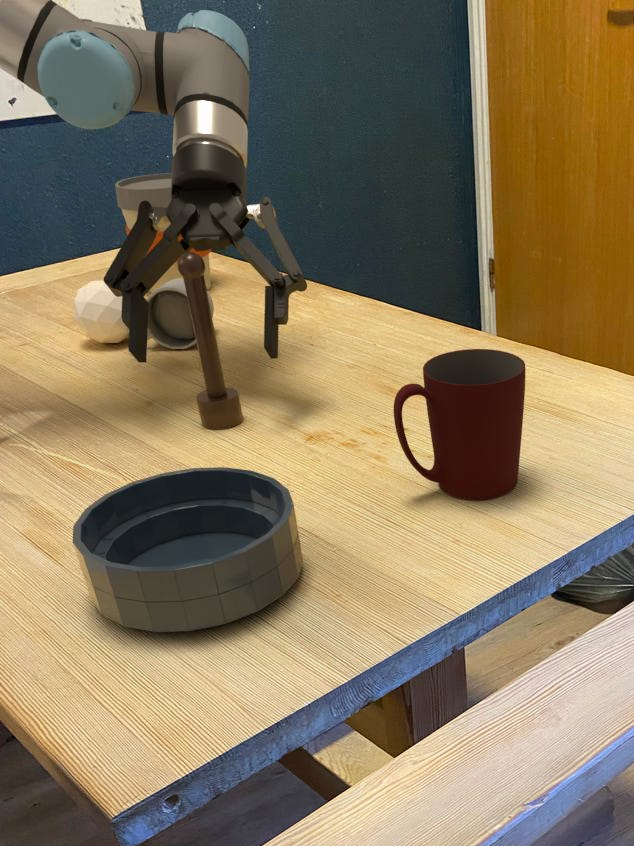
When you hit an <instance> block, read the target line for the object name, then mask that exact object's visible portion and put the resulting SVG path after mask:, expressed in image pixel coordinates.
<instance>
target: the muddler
mask: <svg viewBox="0 0 634 846" xmlns="http://www.w3.org/2000/svg"><path fill="white" fill-rule="evenodd" d="M178 270H179V272H180V274H181V275H182V276H183V280H184V284H185V289H186V294H187V299H188V304H189V308H190V313H191V318H192V323H193V328H194V333H195V337H196V342H197V343H196V346H197V351H198V355H199V356H198V357H199V361H200V365H201V371H202V375H203V380H204V385H205V390H202V391H200V392H199V393H198V394H196V397H195V398H196V404H197V409H198V413H199V418H200V422H201V426H202V427H204V428H206V429H209V430H226V429H230V428H234V427H236V426H238V425H241V423H242V422H243V421H244V415H243V409H242V404H241V399H240V394H239V393H240V392H239V391H238V389H236V388H233V387H228V386H226V382H225V376H224V371H223V368H222V361H221V356H220V352H219V345H218V340H217V336H216V330H215V326H214V325H215V324H214V319H213V318H212V314H211V309H210V304H209V299H208V294H207V291H208V290H207V289H206V284H205V279H204V273H205V263H204V261H203V259H202V258H201V257H200V256H199V255H198V254H196V253H193V252H186V253H184V254H182V255H181V256H180V258H179V260H178Z"/></svg>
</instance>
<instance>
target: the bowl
mask: <svg viewBox="0 0 634 846" xmlns="http://www.w3.org/2000/svg"><path fill="white" fill-rule="evenodd" d="M291 495H292V494H291V493H290V490H289V489H288V488H287V487H286V486H285V485H283V484H282V483H281V482H280V481H278V480H277V479H276V478H274V477H272V476H268V475H266V474H263V473H261V472H260V473H259V472H257V471H254V470H249V469H243V468H234V467H224V466H219V467H216V466H215V467H192V468H187V469H180V470H175V471H168V472H167V471H166V472H162V473H158V474H155V475H151V476H148V477H145V478H142V479H138V480H134V481H132V482H129V483H127V484H125V485H122V486H120V487H118V488H115V489H114V490H111V491H110V492H108V493H106V494H104V495H102V496H101V497H99V498H98V499H97V500H96V501H94V502H93V503H92V504H90V505H89V506H87V507H86V508H84V510H83V511H82V513H81V514H80V516H79V517H78V518H77V520H76V521H75V522H74V524H73V527H72V545H73V548H74V551H75V554H76V557H77V560H78V563H79V566H80V570H81V573H82V576H83V579H84V581H85V585H86V587H87V588H86V589H87V590H88V593H89V596H90V600H91V602H92V603H93V605H94V606H95V607H96V608H97V610H98V611H99V613H100V614H101V615H102V616H103V617H104V618H107V619H109V620H110V621H113V622H115V623H117V624H118V625H121V626H122V627H125V628H130V629H134V630H135V629H136V630H142V631H146V632H154V633H171V632H173V633H174V632H176V633H177V632H192V631H199V630H200V631H201V630H205V629H210V628H215V627H219V626H222V625H223V626H224V625H226V624H229V623H232V622H236V621H238V620H240V619H243V618H245V617H248V616H249V615H252V614H255V613H257V612H259V611H261V610H263V609H264V608H266V607H267V606H269V605H270V604H272V603H273V602H275V601H277V600H278V599H280V598H281V597H283V596H284V595H285V594H286V593H287V592H288V590H289V589H291V587H292V586H293V585H294V584H295V582H297V580H298V579H299V575H300V573H301V568H302V565H303V562H304V559H303V552H302V546H301V541H300V534H299V528H298V521H297V516H296V509H295V504H294V501H293V498H292V496H291Z"/></svg>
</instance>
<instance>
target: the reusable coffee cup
mask: <svg viewBox="0 0 634 846" xmlns="http://www.w3.org/2000/svg"><path fill="white" fill-rule="evenodd" d="M171 180H172V172H167V173H166V172H165V173H154V174H153V173H151V174H144V175H137V176H132V177H128V178H124V179H120V180H118V181H116V182H115V183H114V186H115V187H114V188H115V194H116V202H117V207H118V208H119V209H121V212H122V215H123V218H124V220H125V223H126V225H124V229H125V233H126V234H127V236H128V234H129V233H130V231H131V229H132V227H133V226H134V224H135V222H136V220H137V215H138V209H139V204H140V203H141V202H142V201H148V202H150V204H151V206H152V207H164V208H167V207H168V205H169V203H170V201H171ZM170 224H171V223H170V222H165V223H164V224H163V226H162V230H161V231H157V235H156V237H155V240H154V242H153V244H152V245H151V247H150V249H149V251H148V252H147V254H148V253H149V252H150V251H151V250H152V249H153V247H154V246H155V245H156V244H157V243H158V242H159V241H160V240H161V239H162V237H163V233H164V231H165V230H166V229H167V228H168V226H169V225H170ZM178 240H179V242H180V241H181V240H182V238H181V237H180V235H179V237H178ZM189 252H193V253H196V254H198V255H199V256H200V257H201V258H202V259H203V261H204V263H205V273H204V279H205V284H206V289H207V291H208V290H210V289H211V286H212V285H211V268H210V255H209V254H210V253H211V252H212V249H210V250H206V251H197V252H196V251H195V249H191V250H190V251H189ZM147 254H146V255H147ZM178 260H179V259H178ZM178 260H177V261H176V262H175V263H174V264H173V265H172V266H171V267H170V268H169V269H168V270H167V272H166V273H165V274H164V275H163V276H162V277H161V278H160V279H159V280H158V281H157V282H156V284H155V285H154V286H153V287H152V288H151V289H150V290H149V291H150V294H151V293H152V292H154V291H155V290H157V289H158V288H160V287H161V286H163V285H164V284H165V283H167V282H168V281H170V280H172V279H177V278H183V276H182V275H181V274H180V272H179V270H178Z"/></svg>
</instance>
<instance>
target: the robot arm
mask: <svg viewBox="0 0 634 846" xmlns="http://www.w3.org/2000/svg"><path fill="white" fill-rule="evenodd" d="M0 69H1V70H3V71H4V72H6V73H7V74H9V75H10V76H12V77H14V78H15V79H17V80H18V81H19V82H21V83H23V84H24V85H26V86H27V87H28V88H30V89H31V90H32V91H34V92H36V93H37V94H39V95H41V96H42V97H43V98H44V99H45V101H46V102H47V105H48V106H49V107H50V108H51V110H53V111H54V113H55V114H56V115H57V116H58V117H60V118H61V119H62V120H63V121H64V122H67V123H68V124H70V125H72V126H74V127H77V128H80V129H84V130H98V129H99V130H100V129H104V128H109V127H112V126H115V125H117V124H118V123H120V122H121V121H122V120H123V119H124V118H125V117H126V115H127V114H129V113H130V111H133V112H134V111H135V112H141V113H143V112H144V113H153V114H161V115H165V116H169V115H170V116H173V132H172V133H173V134H172V156H173V157H172V159H171V173H172V180H171V201H170V203H169V205H168V207H167V208H164V207H152V206H151V204H150V202H148V201H142V202H141V203H140V204H139V209H138V215H137V220H136V222H135V224H134V226H133V227H132V229H131V231H130V233H129V234H128V235H127V236H126V238H125V240H124V242H123V243H122V245H121V246H120V249H119V250H118V252H117V254H116V256H115V257H114V259H113V260H112V262H111V264H110V266H109V268H108V269H107V272H106V273H105V274H104V277H103V281H104V282H105V284H106V285H107V286H108V288H109V289H110V290H111V291H112V293H113V294H114V295H115V296H117V297H121V296H122V313H121V318H122V321H123V323H124V324H125V325H126V326H127V328H128V329H129V336H128V352H129V353H130V354H131V355H132V357H133V358H134V359H135V360H136V361H137V362H138V363H141V364H143V363H147V355H148V353H147V352H148V340H147V332H148V308H149V303H148V302H147V300H146V299H147V298H146V297H145V296H146V295H147V294H148V292H150V291H151V290H150V289H151V288H152V287H153V286H154V285H155V284H156V282H157V281H158V280H159V279H160V278H161V277H162V276H163V275H164V274H165V273H166V272H167V270H168V269H169V268H170V267H171V266H172V265H173V264H174V263H175V262H176V261H177V260H178V259H179V258H180V256H181V255H182V254H184V253H186V252H189V251H190V250H191V249H195V251H196V252H197V251H206V250H210V249H211V251H212V250H213V251H218V252H225V251H226V249H227V248H230V247H231V246H232V247H233V248H234V249H235V250H236V251H237V252H238V253H239V255H241V256H242V257H243V258H244V259H245V261H247V262H248V263H249V264H250V265H251V266H252V268H253V269H254V270H255V271H256V272H257V273H258V274H259V275H260V276H261V277H262V278H263V280H264V281H265V282H266V283H267V284H268V285H265V286H264V317H263V318H264V322H263V323H264V326H263V329H264V330H263V348H264V350H265V351H266V354H267V355H268V357H269V358H270V360H277V359H279V326H284V325H285V326H287V324H288V322H289V312H290V311H289V308H290V307H289V305H290V303H289V301H290V300H289V299H290V296H291V295H292V294H293V293H294V292H301V293H302V292H305V291H306V290H307V289H308V283H307V281H306V279H305V276H304V273H303V270H302V269H301V267H300V265H299V263H298V262H297V259H296V258H295V255H294V254H293V252H292V250H291V248H290V246H289V244H288V242H287V241H286V239H285V237H284V235H283V232H282V231H281V229H280V227H279V224H278V215H277V213H276V210H275V207H274V204H273V202H272V200H271V199H270V197H268V196H263V197H262V198H260V199H259V203H256V204H247V191H248V190H247V189H248V188H247V185H248V171H247V168H248V167H247V166H248V145H249V144H248V143H249V130H248V128H249V111H250V110H249V108H250V107H249V106H250V104H249V103H250V86H251V85H250V84H251V79H250V51H249V44H248V41H247V38H246V35H245V34H244V31H243V29H241V28H240V26H239V25H238V24H237V23H236V22H235V21H234V20H232V19H231V18H229V17H228V16H227V15H224V14H222V13H220V12H217V11H214V10H208V9H207V10H206V9H200V10H199V11H198V12H188V13H186V14H185V15H184V16H183V17H182V18H181V20H180V21H179V23H178V25H177V29H176V32H170V31H152V30H148V29H147V30H146V29H141V28H136V27H129V26H124V25H118V24H113V23H112V24H111V23H107V22H106V23H105V22H99V21H94V20H92V19H87V18H83V19H82V18H79V16H77V15H75V14H74V13H72V12H71V11H69V10H68V9H66V8H64V7H63V6H62V5H60V4H58V3H57V2H56V1H54V0H0ZM251 220H253V221H255V223H256V224H257V226H258V227H260V228H262V229H265V231H266V233H267V235H268V238H269V239H270V242H271V244H272V245H273V247H274V250H275V251H276V253H277V255H278V257H279V259H280V261H281V263H282V265H283V267H284V269H285V271H286V273H287V274H283V273H282V272H280V271H279V270H278V269H277V267H275V266H274V264H272V263H271V261H270V260H269V259H268V258H267V257H266V256H265V255H264V254H263V252H262V251H260V249H259V248H258V247H257V246H256V245H255V244H254V243H253V242H252V241H251V239H249V237H248V236H247V235H246V234H245V233H244V230H245V228H247V226H248V225H249V224H250V222H251ZM165 222H170V223H171V224H170V225H169V226H168V228H167V229H166V230H165V231H164V233H163V237H162V239H161V240H160V241H159V242H158V243H157V244H156V245H155V246H154V247H153V249H152V250H151V251H150V252H149V253H148V254H147V252H148V251H149V249H150V247H151V245H152V244H153V242H154V240H155V237H156V235H157V231H161V230H162V226H163V224H164V223H165ZM179 235H180V237H181V238H182V240H181V241H180V242H179V240H178V237H179ZM146 254H147V255H146Z"/></svg>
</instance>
